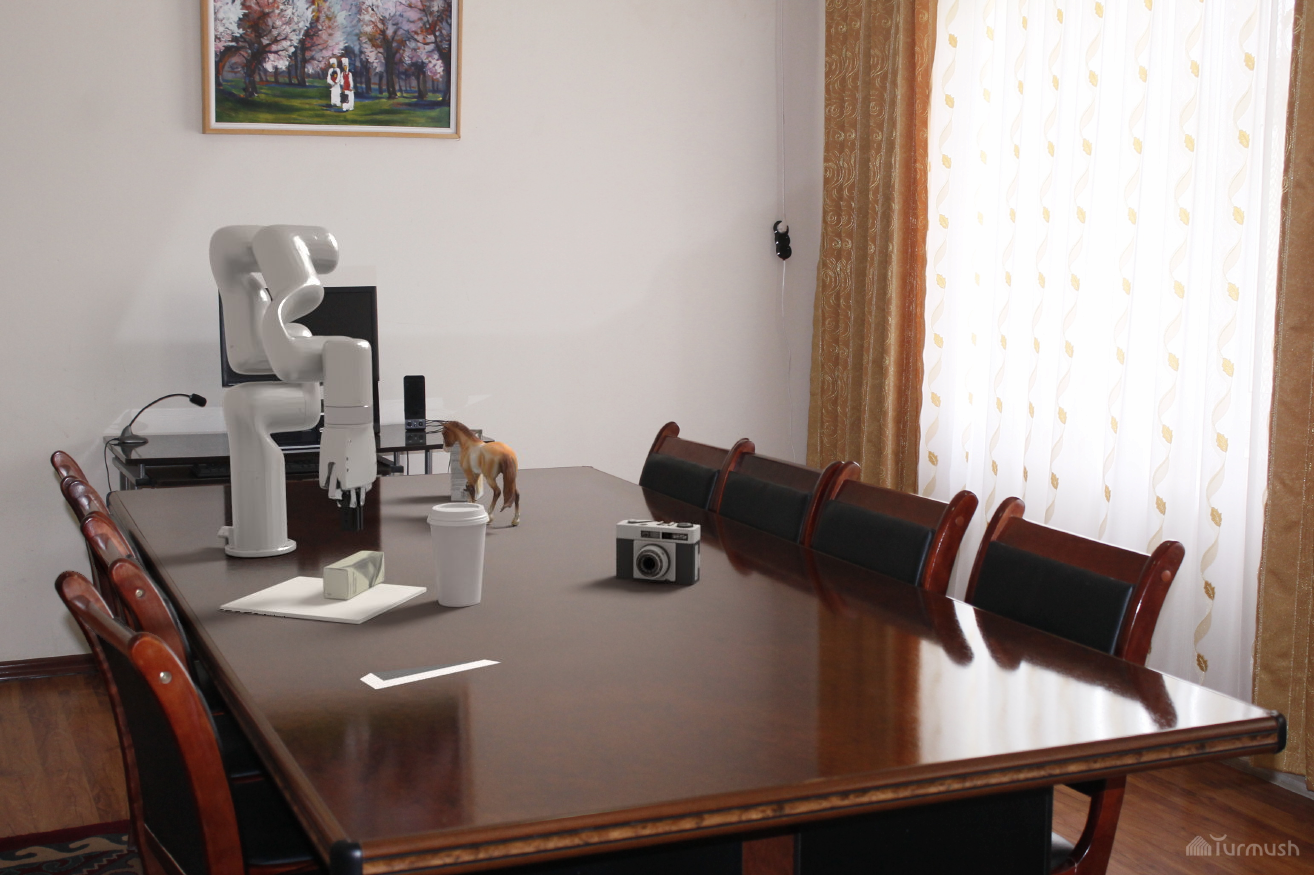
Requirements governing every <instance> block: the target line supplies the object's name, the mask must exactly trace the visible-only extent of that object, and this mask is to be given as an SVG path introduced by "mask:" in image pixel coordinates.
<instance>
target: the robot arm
mask: <svg viewBox="0 0 1314 875" xmlns="http://www.w3.org/2000/svg"><path fill="white" fill-rule="evenodd" d="M208 254H209V257H208V258H209V264H210V268H211V273H212V275H213V278H214V281H215V284H216V286H217V289H218V292H219V296H220V298H221V302H222V303H221V304H222V312H223V313H222V314H223V324H224V334H225V335H224V336H225V348H226V356H227V361H228V365H229V366H230V368H231V370H232V371H233V372H235V373H237V374H240V375H276V377H277V378H278V379H280V380H277V381H273V380H270V381H269V380H268V381H249V382H242V383H238V384H235V385H233V386H231V387H230V388H228V389H227V390H226V392H225V393H224V394H223V397H222V413H223V418H224V422H225V428H226V432H227V438H228V444H229V446H228V447H229V460H230V461H229V462H230V463H229V464H230V484H231V486H230V487H231V488H230V490H231V505H232V506H231V507H232V508H231V513H232V514H231V515H232V526H226V525H223V526H221V527H220V529H219V531H218V532H217V537H218V538H221V539H227V540H228V544H226V545H225V546H224V553H225V554H226V555H228V556H232V557H239V558H262V557H263V558H264V557H270V556H271V557H272V556H278V555H284V554H288V553H291V552H293V551H294V550H296V548H297V542H296V541H295V540H292V539H290V538H288V525H287V523H288V519H287V498H286V494H287V493H286V488H287V487H286V468H285V464H286V462H285V457H284V456H285V455H284V453H283V451H282V449H281V447H279V445H278V444H277V443H276V442H275V441H274V439H273V438H272V437H271V434H275V433H286V432H298V431H306V430H307V431H308V430H310V429H313V428H315V427H316V425H317V424H318V423H319V421H320V418H321V414H322V402H321V388H320V387H321V386H320V383H322V386H323V387H322V388H323V420H324V421H323V424H324V426H323V427H322V432H321V435H320V436H321V438H320V445H319V460H318V461H319V467H318V472H319V473H318V476H319V477H318V478H319V479H318V480H319V481H318V482H319V487H320V488H322V489H323V490H328V498H329V499H333V500H336V504H337V507H338V508H339V525H340V526H339V527H340V531H341V532H351V533H353V532H354V533H357V532H360V531H363V530H364V515H363V514H364V512H363V510H364V509H363V508H364V507H363V506H364V504H365V499H366V498H365V497H366V493H367V492H369V491H370V490H371V489H372V488H373V483H374V481H375V480H376V479H377V468H378V467H377V466H378V465H377V464H378V463H377V449H376V439H375V431H374V428H373V427H374V400H373V399H374V398H373V361H372V360H373V359H372V354H373V353H372V346H371V344H370V343H369V341H368V340H366V339H362V338H353V337H350V336H344V335H313V334H312V332H311V331H310V329H309V328H308V327H307V326H305V325H303V324H301V323H296V322H293V321H295V320H298V319H299V318H302V317H303V316H306V315H308V314H310V313H311V312H313V311H314V310H315V309H317V307H319V306H320V304H322V302H323V299H324V295H325V289H324V286H323V283H322V281H321V279H320V277H319V275H320V276H321V275H329V274H332V273H333V272H335V270H336V268H337V267H338V264H339V261H340V248H339V244H338V241H337V239H336V237H335V236H334V234H333V233H332V232H331V231H330V230H329V229H327V228H326V227H324V226H317V225H305V224H304V225H301V224H300V225H299V224H279V223H278V224H269V225H259V224H258V225H257V224H256V225H254V224H253V225H252V224H234V225H233V224H231V225H226V226H223V227H220V228H218V229H217V230H215V231H214V233H213V234H212V236H211V238H210V241H209V248H208ZM252 273H257V274H261V276H262V279H263V280H264V284H265V285H266V287H267V289H266V288H265V286H264V285H263V284H262V283H261V281H259V279H257V277H255V276H254V274H252ZM271 299H272V300H271Z"/></svg>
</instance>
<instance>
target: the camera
mask: <svg viewBox="0 0 1314 875" xmlns="http://www.w3.org/2000/svg"><path fill="white" fill-rule="evenodd" d="M615 526H616V528H615V530H616V532H615V533H616V534H615V535H616V536H615V537H616V538H615V555H616V556H615V566H616V567H615V572H616V573H615V579H617V580H618V579H619V580H627V581H638V582H639V581H640V582H651V583H660V584H661V583H663V584H674V585H686V586H694V585H695V584H697V583H698V582H699V581H700V576H701V575H700V573H701V572H700V571H701V570H700V568H701V525H700V524H694V523H690V522H679V523H676V522H674V521H671V522H670V523H664V521H663V520H662V521H654V520H651V519H633V518H632V519H623V520H622V521H619V522H617V523H616V525H615Z"/></svg>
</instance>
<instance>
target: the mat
mask: <svg viewBox="0 0 1314 875" xmlns="http://www.w3.org/2000/svg"><path fill="white" fill-rule="evenodd" d="M426 592H427V587H423V586H413V585H401V584H391V583H390V584H389V583H379V584H377V585H375V586H373V587H371V588H369V589H368V590H366V591H364V592H362V593H360V594H358V595H356V596H354V597H352V598H351V599H349V600H335V599H325V598H324V590H323V577H322V578H321V577H310V576H309V577H308V576H298V575H297V577H294V578H290V579H288V580H285V581H283V582H280V583H278V584H275V585H272V586H269V587H267V588H265V589H262V590H260V591H257V592H254V593H252V594H249V595H246V596H243V597H240V598H238V599H236V600H233V601H230V602H227V603H225V604H222V605H220V606H219V610H220V609H224V610H223V611H225V610H232V611H231V612H235V611H240V612H239V613H244V612H252V613H251V614H254V613H258V614H257V615H264V614H266V616H274V615H275V616H276V617H284V616H285V617H287V618H294V619H295V618H297V619H306V620H316V621H325V622H335V623H342V624H343V623H346V624H355V625H360V624H362V623H364V622H366V621H369V620H370V619H372V618H375V617H376V616H379V615H380V614H383V613H384V612H387V611H389V610H391V609H393V608H395V607H397V606H399V605H402V604H404V603H405V602H407V601H409V600H412V599H414V598H417V596H420V595H422V594H424V593H426Z"/></svg>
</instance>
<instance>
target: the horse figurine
mask: <svg viewBox="0 0 1314 875" xmlns="http://www.w3.org/2000/svg"><path fill="white" fill-rule="evenodd" d="M439 424H440V425H441V426H442V427H443V428H442V431H441V435H442V437H443V446H442V450H443V451H444V452H445V453H449V454H450V451H451V448H452V447H453V445H454V444H455V442H456V441H458V442H459V445H460V448H461V452H460V457H459V463H460V466H461V468H462V469H463V471H464V475H465V477H466V479H467V481H468V484H469V496H468V501H467V503H475V504H476V501H475V493H476V490H475V485H476V483H477V481H478V479H479V477H480V475H481V474H483V478H484V479H485V480H486V484H487V485H488V487H489V488H490V489H492V491H493V496H492V501H491V502H490V505H489V507H488V509H487V514H488V516H489V521H488V522H486V524H492V522H493V521H494V517H493V512H494V510H495V507H496V505H497V501H498V500H499V499H500V497H501V494H502V495H503V504H502V507H501V508H500V511H499V513H503V511H504V510H505V509H507V508H510V509H511V507H512V506H513V504H514V516H513V518H512V521H511V522H510V524H511V525H512V526H515V525H516V526H518V525H519V524H520V516H521V513H520V507H519V506H520V504H519V503H520V494H521V493H520V492H519V490H518V488H517V481H516V479H517V475H518V471H519V468H518V467H519V466H518V458H517V455H516V452H515V451H514V450H513V449H512V448H511V447H510V446H509V445H507V444H506V443H504V442H501V441H492V442H491V441H490V442H487V443H486V442H484V441H483V439H482V440H480V439H479V438H478V437H477V436H476V435H475V434H474V433H473V432H472V431H471V430H470V428H469V427H468V426H466V425H465V424H464V423H462V422H460V421H458V420H451V421H448V422H447V421H444V422H443V421H439ZM500 474H502V483H503V484H502V486H503V487H502V490H501V488H500V487H499V486H498V484H497V477H498V476H499V475H500Z"/></svg>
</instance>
